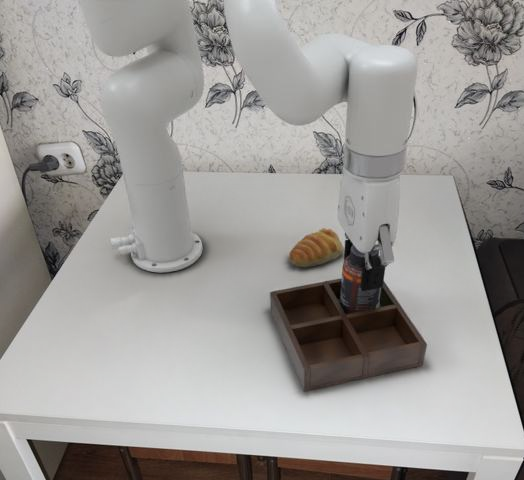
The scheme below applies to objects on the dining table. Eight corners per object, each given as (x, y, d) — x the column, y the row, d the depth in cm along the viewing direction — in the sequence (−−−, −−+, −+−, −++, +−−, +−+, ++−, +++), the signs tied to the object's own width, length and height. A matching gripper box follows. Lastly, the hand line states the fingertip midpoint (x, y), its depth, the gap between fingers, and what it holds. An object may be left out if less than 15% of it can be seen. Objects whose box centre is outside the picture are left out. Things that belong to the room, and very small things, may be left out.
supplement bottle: (386, 313, 90) (396, 251, 82) (356, 328, 87) (363, 266, 80) (360, 293, 93) (367, 232, 85) (331, 308, 91) (335, 246, 83)
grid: (304, 391, 80) (304, 370, 77) (270, 312, 92) (269, 291, 89) (422, 365, 83) (427, 344, 80) (374, 291, 95) (377, 271, 92)
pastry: (305, 276, 98) (306, 257, 96) (279, 259, 102) (279, 240, 100) (346, 254, 103) (347, 236, 100) (319, 239, 106) (320, 220, 104)
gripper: (323, 133, 79) (319, 247, 91) (372, 195, 67) (360, 316, 79) (375, 125, 80) (364, 239, 92) (433, 184, 68) (412, 306, 80)
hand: (362, 273), depth 86 cm, fingers closed on supplement bottle, 5 cm apart
